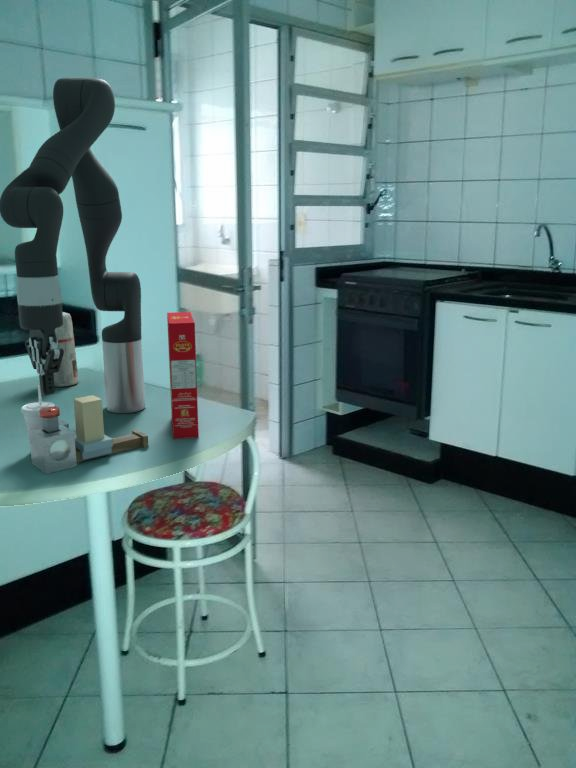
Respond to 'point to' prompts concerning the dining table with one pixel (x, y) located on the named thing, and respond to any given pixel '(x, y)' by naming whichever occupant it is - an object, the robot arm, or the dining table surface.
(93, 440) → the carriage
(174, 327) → the food packaging
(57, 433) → the gauge cabinet
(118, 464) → the dining table surface
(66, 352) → the spray can
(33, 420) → the smoothie
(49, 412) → the gauge button
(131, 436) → the rail
